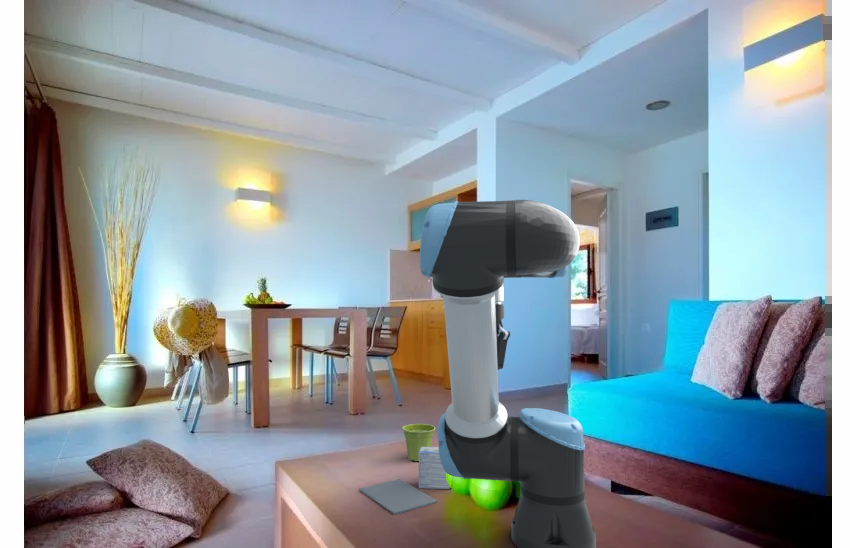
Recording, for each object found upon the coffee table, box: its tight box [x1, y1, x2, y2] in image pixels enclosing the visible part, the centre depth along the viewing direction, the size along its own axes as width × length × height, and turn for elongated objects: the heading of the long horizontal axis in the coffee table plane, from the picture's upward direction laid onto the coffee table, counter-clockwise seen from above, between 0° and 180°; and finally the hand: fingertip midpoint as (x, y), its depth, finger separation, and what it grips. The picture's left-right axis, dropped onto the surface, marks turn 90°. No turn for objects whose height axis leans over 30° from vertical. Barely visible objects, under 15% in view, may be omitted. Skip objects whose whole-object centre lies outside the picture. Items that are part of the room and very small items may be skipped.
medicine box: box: [418, 446, 451, 490], centre depth 116 cm, size 8×4×9 cm, turn 84°
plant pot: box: [401, 423, 436, 462], centre depth 137 cm, size 9×9×9 cm
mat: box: [358, 478, 438, 516], centre depth 110 cm, size 16×11×1 cm
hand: (489, 396), depth 122 cm, fingers closed
